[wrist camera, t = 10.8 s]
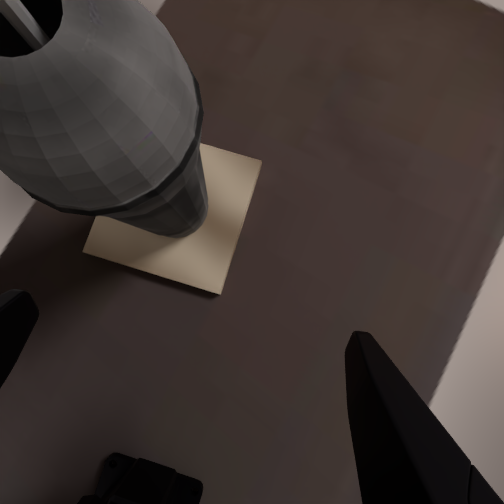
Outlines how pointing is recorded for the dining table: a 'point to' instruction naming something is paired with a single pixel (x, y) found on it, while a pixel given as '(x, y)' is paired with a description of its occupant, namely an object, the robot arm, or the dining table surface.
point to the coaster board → (196, 244)
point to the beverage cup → (101, 113)
